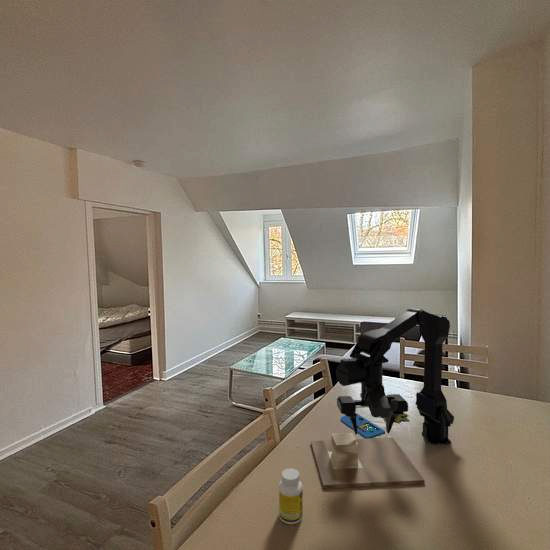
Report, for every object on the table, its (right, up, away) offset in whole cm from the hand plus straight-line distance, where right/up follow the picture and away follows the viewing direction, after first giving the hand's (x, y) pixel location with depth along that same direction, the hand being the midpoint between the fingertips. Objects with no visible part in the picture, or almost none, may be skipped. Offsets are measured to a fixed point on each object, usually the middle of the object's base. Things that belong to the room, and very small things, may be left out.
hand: (371, 433), depth 93 cm
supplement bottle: (-24, -10, -19) cm, 32 cm away
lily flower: (+16, -7, +27) cm, 32 cm away
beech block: (-8, -1, 0) cm, 8 cm away
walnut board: (-3, -8, 0) cm, 9 cm away
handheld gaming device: (+2, -8, +21) cm, 22 cm away
